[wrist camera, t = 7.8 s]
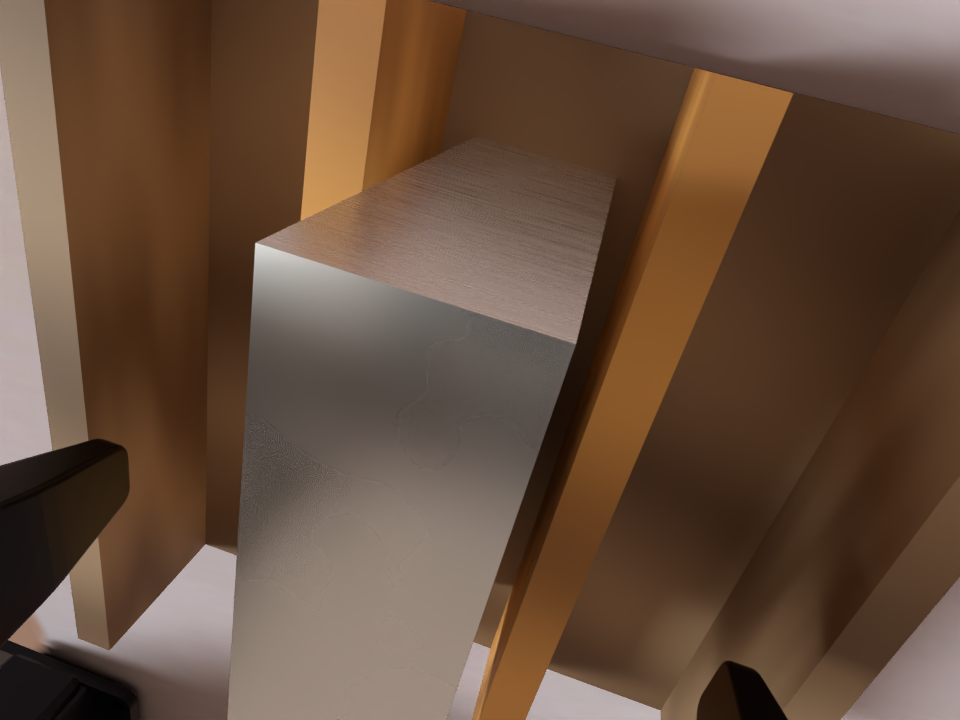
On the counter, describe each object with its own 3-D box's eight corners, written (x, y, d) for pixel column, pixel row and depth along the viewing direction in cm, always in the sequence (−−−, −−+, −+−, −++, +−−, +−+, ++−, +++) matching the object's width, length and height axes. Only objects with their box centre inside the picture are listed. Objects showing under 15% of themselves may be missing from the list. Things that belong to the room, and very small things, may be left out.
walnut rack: (689, 686, 17) (702, 883, 13) (201, 511, 18) (78, 638, 14) (1020, 149, 10) (1264, 212, 6) (205, -56, 11) (-24, -114, 8)
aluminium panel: (482, 581, 15) (372, 932, 9) (386, 547, 16) (218, 866, 9) (616, 176, 11) (575, 343, 4) (476, 136, 11) (255, 242, 5)
